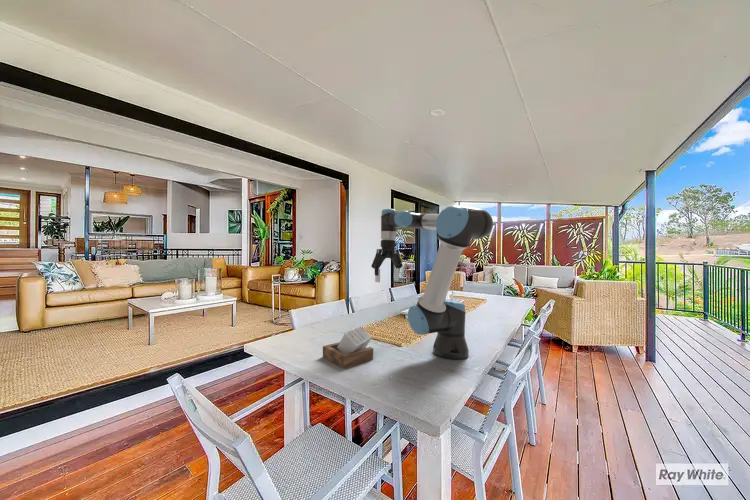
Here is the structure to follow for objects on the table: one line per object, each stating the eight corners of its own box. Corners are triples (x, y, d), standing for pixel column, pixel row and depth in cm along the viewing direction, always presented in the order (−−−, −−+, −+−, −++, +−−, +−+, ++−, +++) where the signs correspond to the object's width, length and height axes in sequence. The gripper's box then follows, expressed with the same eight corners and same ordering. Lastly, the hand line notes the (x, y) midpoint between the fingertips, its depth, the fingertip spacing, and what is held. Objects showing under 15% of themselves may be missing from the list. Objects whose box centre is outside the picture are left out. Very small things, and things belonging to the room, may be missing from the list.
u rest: (373, 359, 118) (373, 348, 118) (344, 368, 109) (344, 356, 109) (350, 349, 129) (350, 339, 129) (322, 357, 120) (322, 346, 120)
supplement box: (365, 349, 126) (348, 360, 115) (353, 338, 129) (335, 347, 118) (373, 337, 124) (356, 346, 113) (360, 325, 127) (343, 334, 116)
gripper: (399, 240, 159) (398, 279, 159) (364, 238, 142) (364, 282, 142) (409, 240, 154) (408, 280, 154) (375, 238, 137) (374, 283, 137)
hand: (387, 281), depth 148 cm, fingers open, 13 cm apart
